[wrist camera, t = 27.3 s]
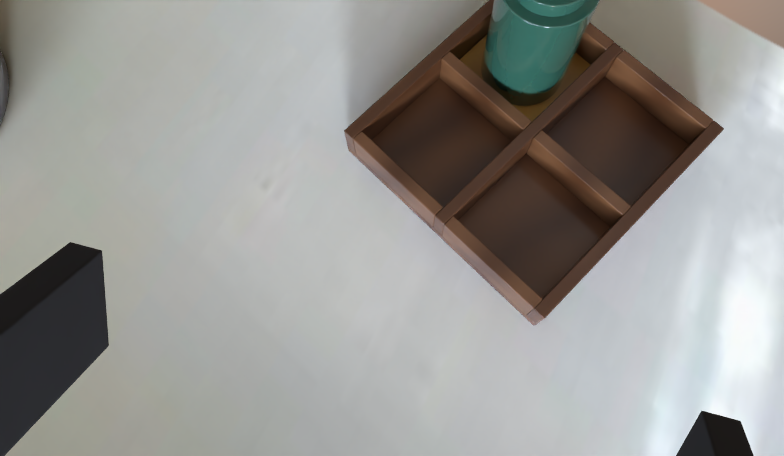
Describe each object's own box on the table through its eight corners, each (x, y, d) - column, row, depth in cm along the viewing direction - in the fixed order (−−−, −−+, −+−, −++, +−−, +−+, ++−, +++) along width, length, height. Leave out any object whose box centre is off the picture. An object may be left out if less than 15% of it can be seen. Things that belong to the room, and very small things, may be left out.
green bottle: (463, 69, 43) (483, -57, 32) (519, 18, 44) (558, -121, 33) (524, 122, 42) (568, 12, 30) (580, 69, 43) (643, -58, 31)
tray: (348, 150, 43) (343, 130, 40) (515, -2, 46) (523, -31, 43) (533, 326, 39) (544, 318, 36) (702, 148, 42) (724, 128, 39)
